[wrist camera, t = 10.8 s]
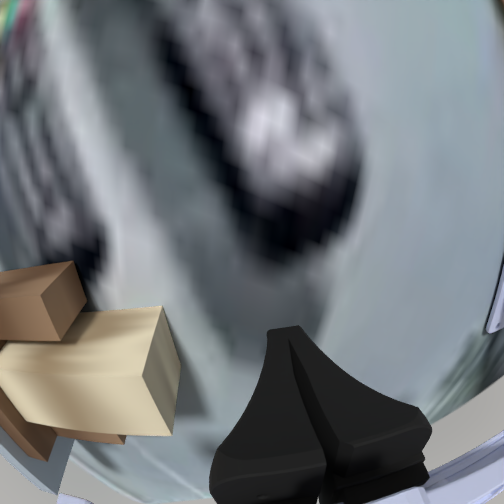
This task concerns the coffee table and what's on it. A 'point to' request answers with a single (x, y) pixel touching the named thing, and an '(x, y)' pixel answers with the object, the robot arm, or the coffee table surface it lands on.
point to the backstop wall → (38, 462)
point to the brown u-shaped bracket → (40, 329)
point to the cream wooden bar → (98, 374)
